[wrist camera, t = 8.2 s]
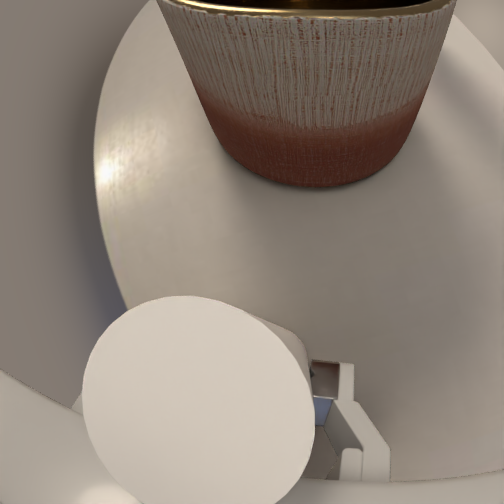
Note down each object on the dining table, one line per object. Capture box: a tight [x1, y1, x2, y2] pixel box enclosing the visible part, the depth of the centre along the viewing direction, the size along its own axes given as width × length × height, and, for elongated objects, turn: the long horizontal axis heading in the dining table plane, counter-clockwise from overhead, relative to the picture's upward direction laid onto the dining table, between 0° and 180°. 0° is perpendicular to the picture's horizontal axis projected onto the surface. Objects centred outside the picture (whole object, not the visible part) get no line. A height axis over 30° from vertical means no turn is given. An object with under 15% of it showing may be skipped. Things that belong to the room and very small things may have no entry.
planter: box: [157, 0, 457, 187], centre depth 19 cm, size 18×18×16 cm
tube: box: [82, 296, 315, 504], centre depth 12 cm, size 4×4×15 cm
